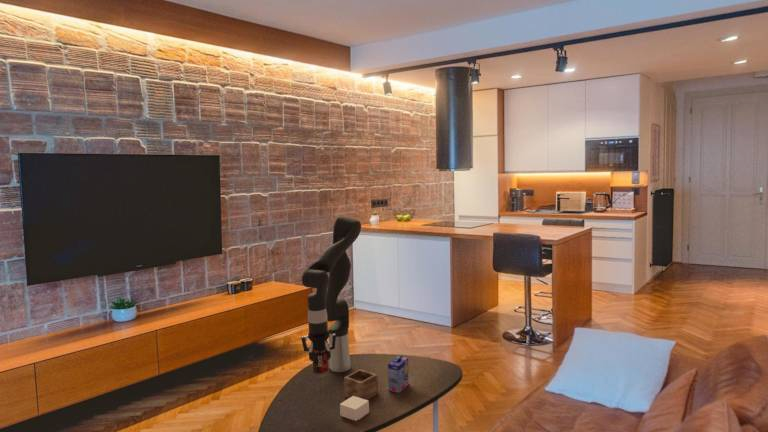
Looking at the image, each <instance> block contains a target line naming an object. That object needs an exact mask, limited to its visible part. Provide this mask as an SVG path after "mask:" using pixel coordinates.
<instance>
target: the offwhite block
mask: <svg viewBox="0 0 768 432" xmlns="http://www.w3.org/2000/svg"><path fill="white" fill-rule="evenodd" d="M339 412H340V417H343V418H346V419H349V420H352V421H354V420H355V421H354V422H357V420H358V421H359V420H361V419H362V418H363V417H365V416H366V415H367V414H369V413H370V401H369V399H368V400H365V399H362V398H359V397H355V396H352V397H350V398H347V399H346V400H344V401H342V402H341V403H340V404H339Z"/></svg>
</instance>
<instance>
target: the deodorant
mask: <svg viewBox="0 0 768 432" xmlns="http://www.w3.org/2000/svg"><path fill="white" fill-rule="evenodd" d="M325 341H326V335H324V336H312V342H313V348H312V356H313V361H312V370H313V371H312V372H313V373H314V374H316V375H321V374H322V375H323V374H327V372H329V360H327V349H326V347H325ZM327 341H328V340H327ZM327 341H326V343H327Z"/></svg>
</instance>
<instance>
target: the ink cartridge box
mask: <svg viewBox="0 0 768 432" xmlns="http://www.w3.org/2000/svg"><path fill="white" fill-rule="evenodd" d="M403 355H404V354H401V355H397V356H396V357H395V358H393V359H392V360H391V361H389V363H388V364H387V373H388V374H387V376H388V379H387V380H388V381H387V382H388V391H389V392H394V393H396V394H400V393H401V392H402V391H403V390H405V388H406V387H408V385H409V357H406V356H403Z"/></svg>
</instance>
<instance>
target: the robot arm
mask: <svg viewBox="0 0 768 432" xmlns="http://www.w3.org/2000/svg"><path fill="white" fill-rule="evenodd" d="M361 229H362V223H361V222H360V221H359V220H357V219H354V218H351V217H347V216H343V215H339V216H337V217H336V219H335V220H334V224H333V231H332V232H333V233H332V244H331V245H329V246H328V247H326V248H324V250H323V251H322V252H321V254H320V255H319V257H318V259H316V260H315V261H314V262H313V263H312V264H311V265H309V266H308V267H307V268H306V269H305V270H304V271H303V273H302V276H301V282H302V285H303V286H304V287H306V288H309V289H310V288H311V289H312V288H313V289H316V292H312V293H309V294H308V296H307V322H308V334H307V335H305V334H303V335H301V338H300V339H301V343H302V347H303V348H302V349H303V351H304V352H307V353H308V360H310V362H313V356H312V348H313V342H312V336H324V335H326V341H327V343H326V341H325V347H326V349H327V360H328V369H330V371H332V372H334V373H343V372H347V371H349V370H350V369H351V357H350V341H349V340H350V339H349V328H350V310H349V305H348V302H347V301H346V299H344V298H339V296H340V294H341V292H342V291H343V289H344V287H345V286H346V285H347V283H348V282H349V279H350V275H351V268H352V264H351V261H350V258H349V255H348V254H347V250H348V249H349V248H350V247H351V246H352V245H353V244H354V242H355V241H356V240H357V239H358V237H359V235H360V233H361V231H362V230H361ZM328 322H329V323H330V322H333V324H331V325H330V326H328ZM308 339H309V341H310V345H309V346H308V345H307V341H308Z"/></svg>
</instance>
